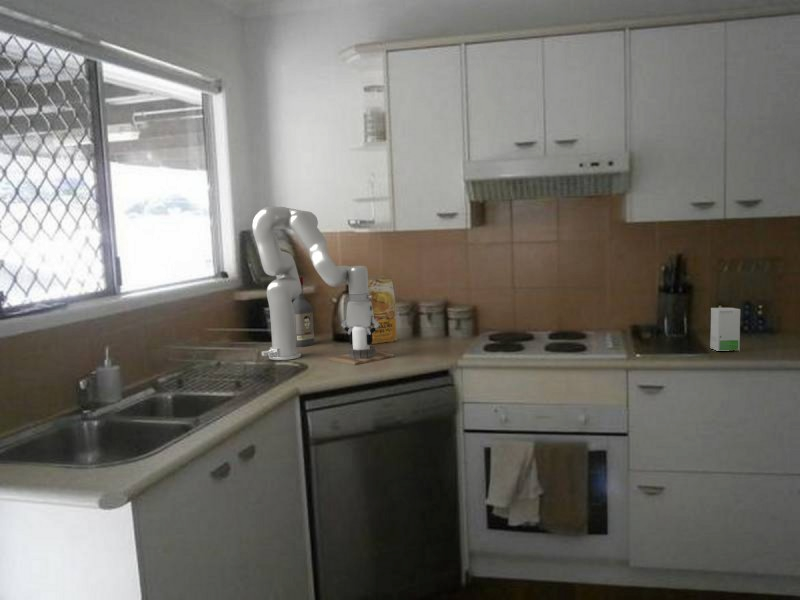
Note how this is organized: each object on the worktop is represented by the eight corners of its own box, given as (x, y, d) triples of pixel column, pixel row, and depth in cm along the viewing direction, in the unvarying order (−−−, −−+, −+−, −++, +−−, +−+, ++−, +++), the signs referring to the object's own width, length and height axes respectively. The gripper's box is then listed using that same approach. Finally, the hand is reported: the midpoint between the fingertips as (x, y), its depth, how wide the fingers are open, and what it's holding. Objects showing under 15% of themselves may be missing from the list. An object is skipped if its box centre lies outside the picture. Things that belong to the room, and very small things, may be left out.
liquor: (288, 345, 300) (283, 277, 297) (305, 342, 306) (301, 276, 303) (299, 347, 294) (295, 278, 290) (317, 344, 300) (313, 276, 296)
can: (349, 356, 263) (348, 325, 262) (361, 353, 268) (359, 323, 267) (362, 357, 259) (360, 326, 258) (373, 354, 264) (372, 324, 263)
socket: (354, 365, 251) (354, 354, 251) (329, 359, 263) (328, 349, 263) (395, 356, 264) (394, 346, 264) (369, 351, 276) (368, 342, 276)
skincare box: (717, 352, 245) (718, 309, 244) (709, 349, 252) (709, 307, 250) (740, 351, 245) (741, 308, 244) (731, 348, 252) (732, 306, 250)
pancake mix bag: (356, 343, 297) (352, 279, 294) (395, 338, 305) (392, 276, 302) (362, 345, 291) (358, 280, 288) (401, 340, 299) (399, 277, 296)
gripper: (383, 297, 262) (385, 342, 264) (342, 297, 267) (344, 342, 270) (376, 299, 255) (378, 346, 257) (334, 299, 260) (336, 345, 262)
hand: (361, 343), depth 263 cm, fingers closed on can, 6 cm apart
